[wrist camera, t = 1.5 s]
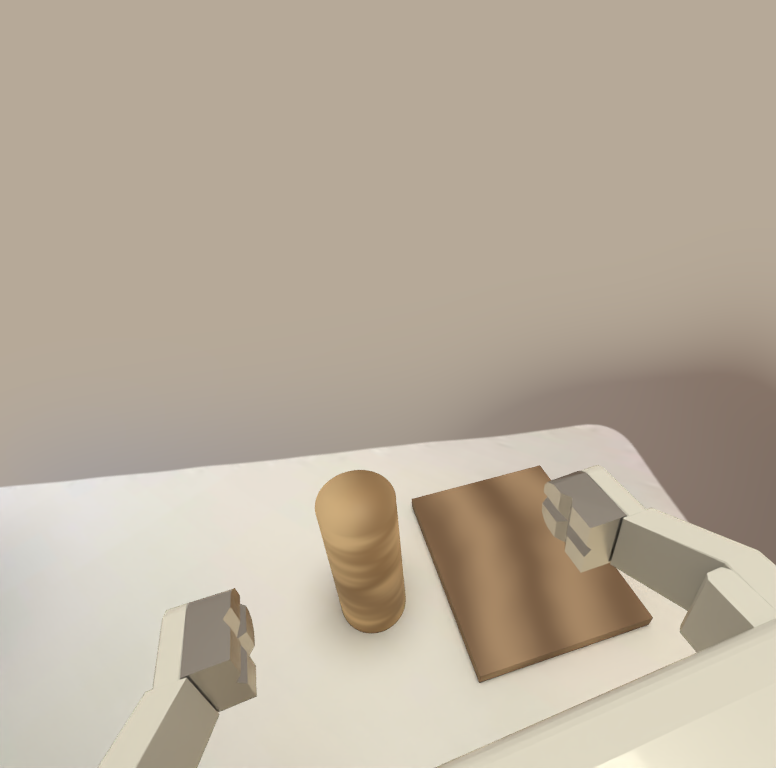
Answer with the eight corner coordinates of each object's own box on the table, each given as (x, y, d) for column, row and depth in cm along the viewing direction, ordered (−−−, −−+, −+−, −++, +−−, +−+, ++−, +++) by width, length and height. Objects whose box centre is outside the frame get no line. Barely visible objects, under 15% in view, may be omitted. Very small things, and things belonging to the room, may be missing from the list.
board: (479, 682, 29) (480, 676, 29) (412, 505, 41) (411, 499, 40) (649, 624, 31) (652, 617, 31) (538, 472, 43) (539, 465, 42)
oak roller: (348, 642, 32) (320, 546, 25) (336, 579, 36) (310, 480, 29) (413, 621, 33) (406, 523, 25) (395, 562, 36) (384, 462, 29)
